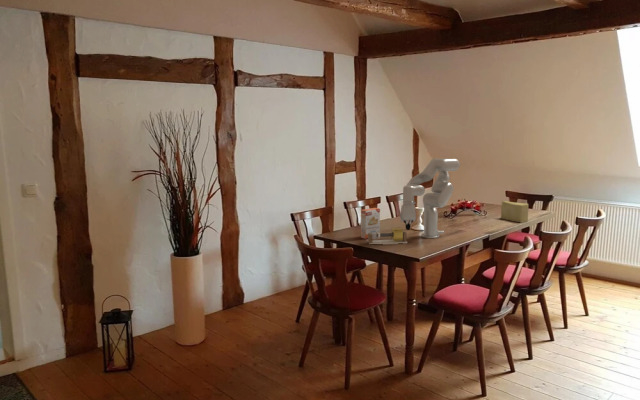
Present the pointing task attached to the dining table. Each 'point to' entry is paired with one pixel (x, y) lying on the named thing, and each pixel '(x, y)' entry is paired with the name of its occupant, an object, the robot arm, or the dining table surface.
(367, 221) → the cracker box
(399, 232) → the yellow block
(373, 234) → the cord rail
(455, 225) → the dining table surface
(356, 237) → the dining table surface
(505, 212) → the cheese
